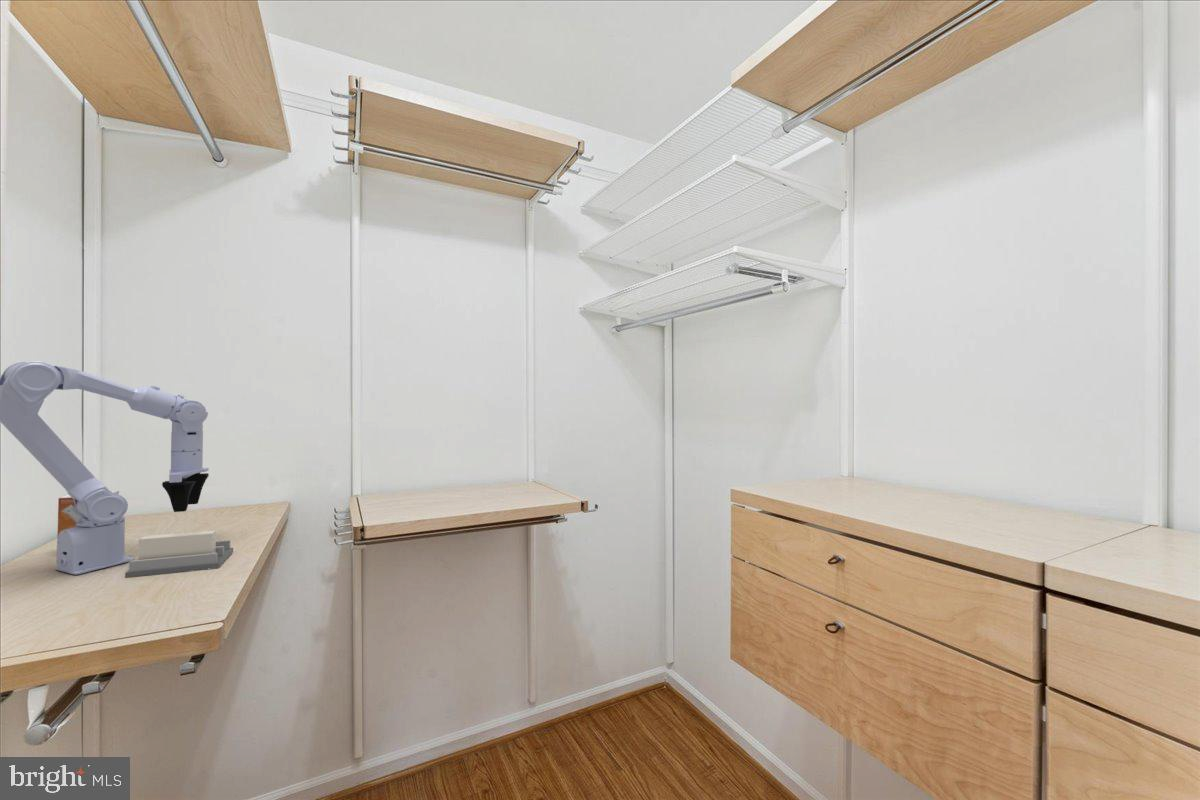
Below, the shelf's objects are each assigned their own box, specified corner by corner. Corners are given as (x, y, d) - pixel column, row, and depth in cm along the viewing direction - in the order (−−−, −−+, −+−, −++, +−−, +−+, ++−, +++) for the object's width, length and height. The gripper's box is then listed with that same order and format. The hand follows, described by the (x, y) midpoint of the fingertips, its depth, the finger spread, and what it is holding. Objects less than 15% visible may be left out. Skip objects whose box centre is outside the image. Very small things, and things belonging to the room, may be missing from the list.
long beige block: (138, 568, 97) (138, 539, 97) (143, 564, 100) (144, 535, 100) (211, 561, 102) (212, 533, 102) (215, 557, 105) (215, 530, 105)
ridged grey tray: (125, 577, 95) (125, 562, 95) (149, 559, 105) (149, 546, 105) (218, 568, 101) (218, 553, 101) (233, 551, 111) (233, 539, 111)
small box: (56, 556, 106) (56, 497, 106) (72, 547, 112) (73, 492, 112) (105, 552, 109) (106, 495, 109) (119, 543, 115) (119, 489, 115)
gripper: (197, 453, 109) (196, 513, 109) (217, 446, 122) (216, 500, 122) (157, 454, 106) (156, 516, 106) (182, 447, 119) (181, 501, 119)
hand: (186, 507), depth 114 cm, fingers open, 7 cm apart
